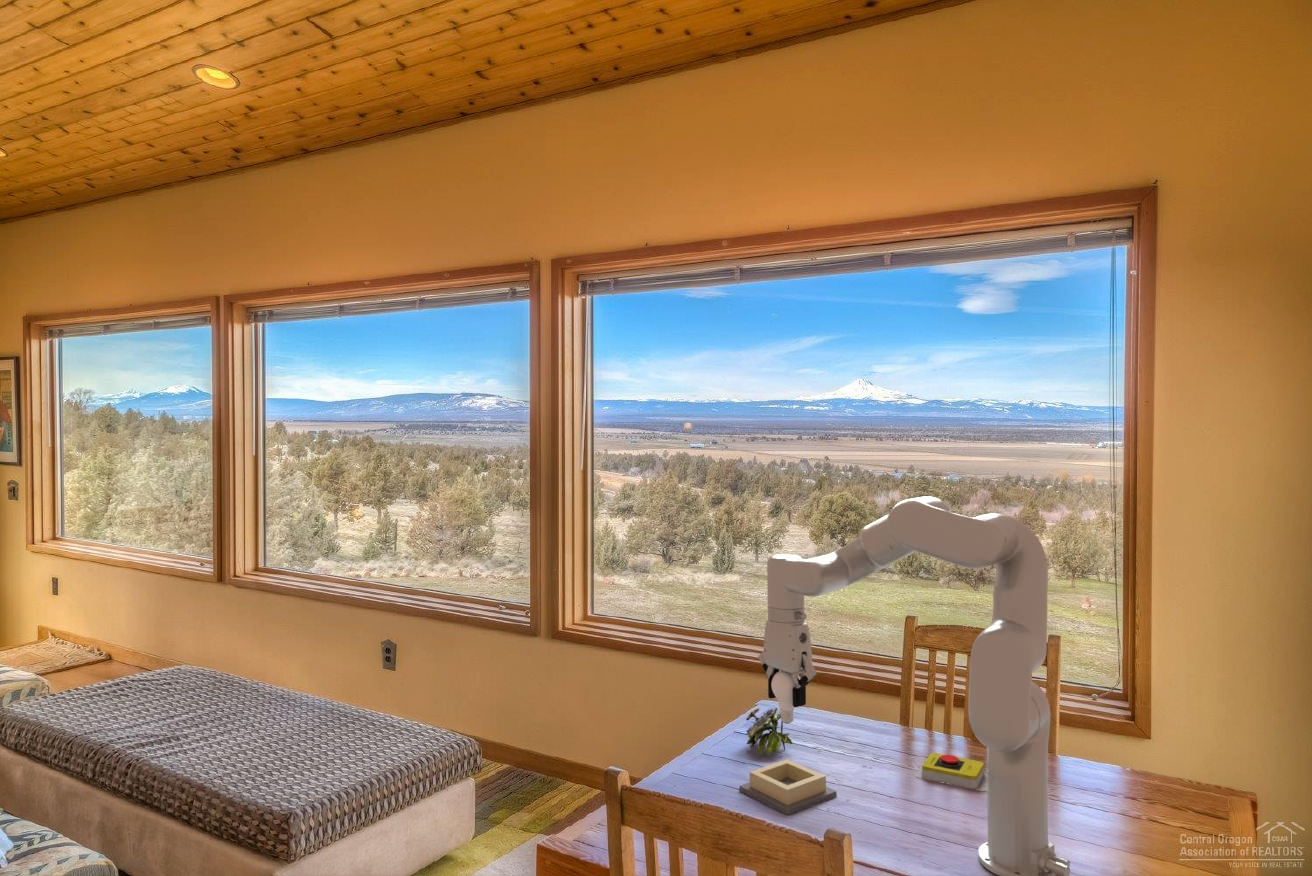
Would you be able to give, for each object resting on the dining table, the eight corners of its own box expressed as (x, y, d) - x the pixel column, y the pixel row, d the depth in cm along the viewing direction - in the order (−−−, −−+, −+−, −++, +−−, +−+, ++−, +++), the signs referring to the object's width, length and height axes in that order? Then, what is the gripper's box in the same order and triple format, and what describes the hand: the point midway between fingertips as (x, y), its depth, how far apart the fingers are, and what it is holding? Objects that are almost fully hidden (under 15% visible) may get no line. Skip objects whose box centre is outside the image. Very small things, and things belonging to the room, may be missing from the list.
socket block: (836, 796, 169) (836, 776, 169) (787, 815, 161) (787, 794, 161) (787, 773, 180) (787, 755, 180) (739, 790, 172) (739, 771, 172)
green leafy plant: (754, 768, 197) (751, 717, 204) (799, 764, 194) (794, 713, 201) (742, 756, 188) (739, 703, 195) (789, 751, 185) (784, 698, 192)
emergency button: (924, 745, 186) (995, 758, 178) (924, 764, 186) (995, 779, 178) (913, 759, 178) (987, 773, 170) (913, 779, 178) (987, 795, 170)
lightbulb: (767, 725, 169) (766, 672, 169) (777, 716, 175) (777, 664, 175) (797, 730, 166) (796, 676, 166) (806, 720, 172) (806, 668, 172)
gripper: (830, 619, 166) (831, 708, 166) (769, 605, 180) (770, 688, 180) (803, 624, 161) (804, 716, 161) (744, 610, 175) (745, 694, 175)
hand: (786, 700), depth 170 cm, fingers closed on lightbulb, 6 cm apart
